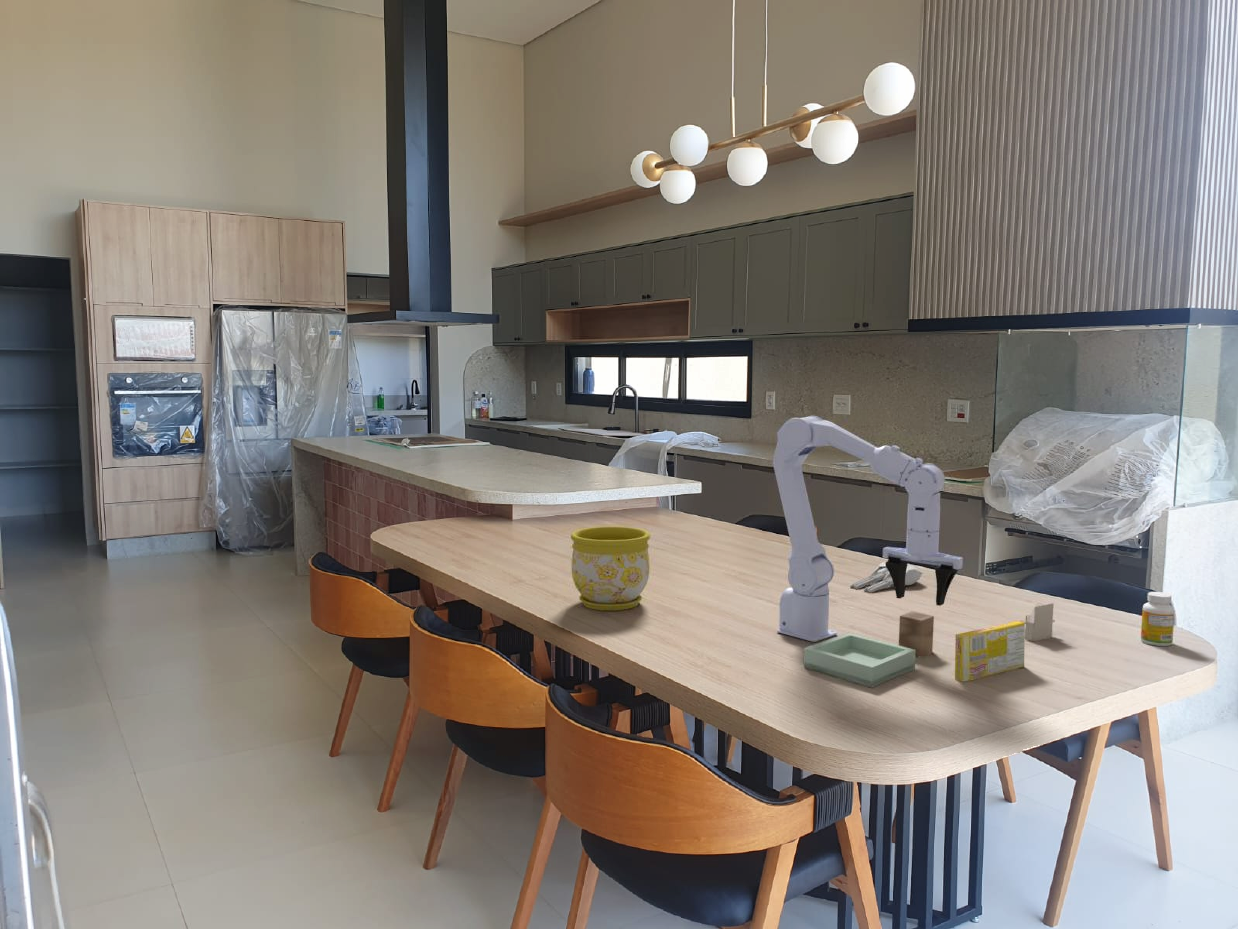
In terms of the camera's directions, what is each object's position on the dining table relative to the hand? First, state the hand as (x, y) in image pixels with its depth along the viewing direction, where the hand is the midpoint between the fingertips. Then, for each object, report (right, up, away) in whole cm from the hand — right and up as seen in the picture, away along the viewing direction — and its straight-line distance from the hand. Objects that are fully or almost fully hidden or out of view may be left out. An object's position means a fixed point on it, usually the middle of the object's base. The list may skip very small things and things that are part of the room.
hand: (919, 600), depth 169 cm
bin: (-13, -11, -7) cm, 19 cm away
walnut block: (0, -10, +3) cm, 10 cm away
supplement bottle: (+49, -10, +8) cm, 51 cm away
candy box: (+9, -12, -9) cm, 18 cm away
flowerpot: (-58, -7, +37) cm, 70 cm away
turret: (+10, -5, +54) cm, 55 cm away
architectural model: (+27, -10, +11) cm, 31 cm away
